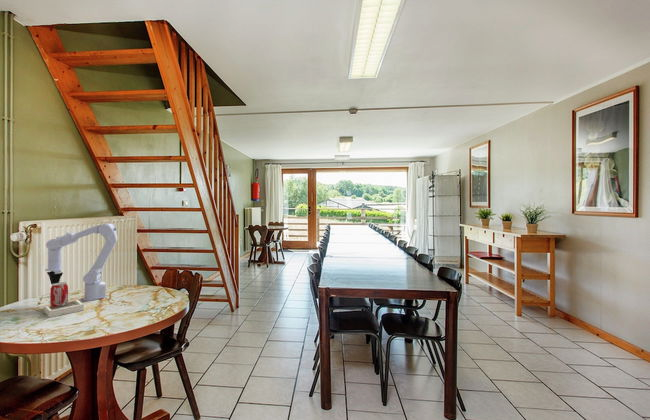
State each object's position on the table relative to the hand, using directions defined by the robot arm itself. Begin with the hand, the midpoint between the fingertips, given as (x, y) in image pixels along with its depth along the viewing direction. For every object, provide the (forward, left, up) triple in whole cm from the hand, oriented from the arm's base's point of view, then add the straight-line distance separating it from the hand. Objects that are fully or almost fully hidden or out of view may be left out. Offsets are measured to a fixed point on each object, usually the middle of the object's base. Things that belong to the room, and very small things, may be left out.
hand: (54, 284), depth 164 cm
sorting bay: (0, +23, -9) cm, 24 cm away
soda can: (0, +12, -10) cm, 15 cm away
